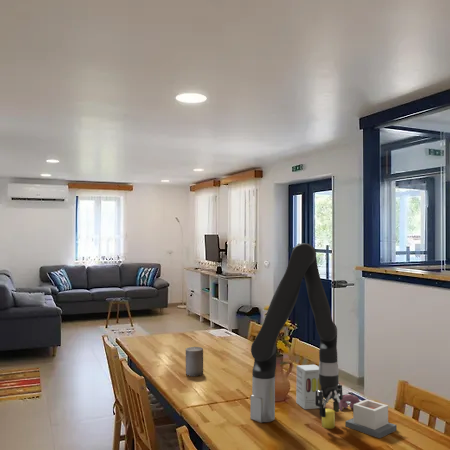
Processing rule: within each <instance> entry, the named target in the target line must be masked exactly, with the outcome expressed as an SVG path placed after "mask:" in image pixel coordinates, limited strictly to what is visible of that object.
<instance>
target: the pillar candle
mask: <svg viewBox="0 0 450 450" xmlns="http://www.w3.org/2000/svg"><path fill="white" fill-rule="evenodd" d="M186 374H187V375H186ZM202 374H203V375H204V348H203V347H199V346H190V347H187V348H185V375H186V376H188V375H190V376H189V377H199V376H198V375H200V376H203V375H202Z"/></svg>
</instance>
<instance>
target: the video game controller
mask: <svg viewBox="0 0 450 450" xmlns="http://www.w3.org/2000/svg"><path fill="white" fill-rule="evenodd" d="M347 402H349V405H348V403H347ZM358 402H361V400H360V398H359V397H358V396H357V395H356V394H355V395H353V394H349V393H348V394H343V399H342V400H340V402H339V411H341V412H342V411H343V409H347V408H348V407H350V409H353V404H356V403H358Z"/></svg>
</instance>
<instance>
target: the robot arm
mask: <svg viewBox="0 0 450 450" xmlns="http://www.w3.org/2000/svg"><path fill="white" fill-rule="evenodd" d="M288 261H289V262H288V264H287V267H286V269H285V273H284V275H283V276H282V278H281V280H280V282H279V284H278V285H277V287H276V290H275V292H274V294H273V296H272V298H271V301H270V303H269V305H268V309H267V311H266V314H265V318H264V319H263V323H262V326H261V328H260V330H259V331H258V333H257V335H256V337H255V338H254V340H253V342H252V344H251V347H250V352H251V353H250V354H251V356H252V358H253V359H254V361H253V367H252V375H251V376H252V379H251V380H252V382H251V383H252V384H251V385H252V391H251V393H252V394H251V395H250V417H249V418H250V419H251V420H253V421H256V422H258V423H260V424H262V423H271V422H273V421H275V418H276V417H275V416H276V415H275V414H276V413H275V410H276V406H275V405H276V401H275V399H276V397H275V396H276V390H275V389H276V387H275V386H276V368H277V345H276V341H277V339H278V337H279V334H280V332H281V330H282V329H283V327H284V326H285V324H286V323H287V321H288V319H289V317H290V316H291V314H292V312H293V309H294V307H295V306H296V303H297V300H298V298H299V293H300V289H301V285H302V282H303V279H304V281H305V287H306V291H307V292H306V293H307V297H308V301H309V305H310V308H311V311H312V314H313V317H314V322H315V326H316V327H315V328H316V331H317V334H318V337H319V343H320V344H319V351H318V353H319V357H318V358H319V359H318V361H319V363H318V367H319V384H320V385H321V390H320V391H318V390H316V401H315V405H316V406H318V407H319V408H318V409H319V416H320V417H321V418H322V417H326V410H325V409H326V406H327V404H328V403H329V401H330V400H333V401H332V404H333V405H332V408H333V410H334V411H335V413H339V412H340V409H339V402H340V400H342V399H343V395H344V394H343V385H342V384H340V382H339V381H340V380H339V363H338V362H339V361H338V349H337V346H338V326H337V324H335V322H334V321H333V317H332V315H331V307H330V304H329V301H328V297H327V294H326V292H325V288H324V285H323V282H322V279H321V276H320V272H319V271H320V270H319V265H318V260H317V251H316V249H315V247H314V245H312V244H310V243H306V242H304V243H298V244H297V245H295V246H294V247H293V249H292V251H291V254H290V258H289V260H288ZM323 397H324V399H323ZM318 400H319V401H320V402H319V403H318ZM322 402H324V403H323V404H322Z"/></svg>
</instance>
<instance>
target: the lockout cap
mask: <svg viewBox="0 0 450 450" xmlns="http://www.w3.org/2000/svg"><path fill="white" fill-rule="evenodd" d="M325 410H326V417H321V427H322V428H324V429H328V430H329V429H330V430H331V429H334V428H335V426H336V425H335V424H336V423H335V421H336V419H335V417H336V414H335V413H336V412H335V411H334V410H333V409H332V408H325Z"/></svg>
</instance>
